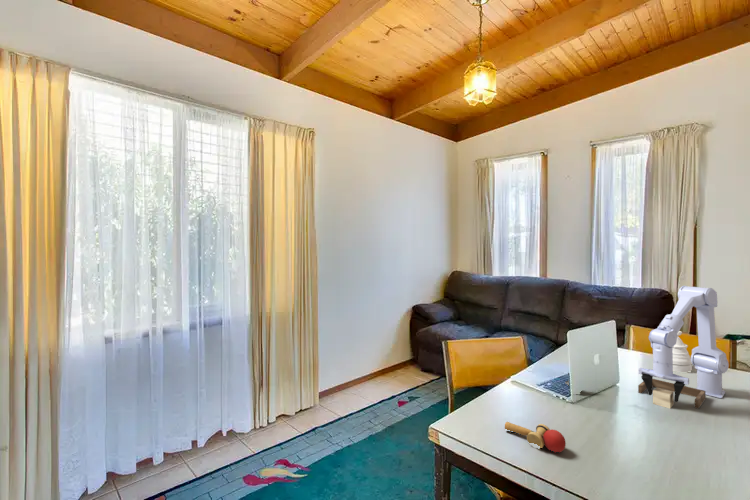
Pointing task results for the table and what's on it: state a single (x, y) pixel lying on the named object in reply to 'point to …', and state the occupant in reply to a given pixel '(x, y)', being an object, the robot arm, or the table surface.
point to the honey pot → (681, 356)
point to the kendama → (541, 436)
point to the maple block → (663, 397)
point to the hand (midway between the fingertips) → (663, 397)
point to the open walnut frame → (670, 386)
